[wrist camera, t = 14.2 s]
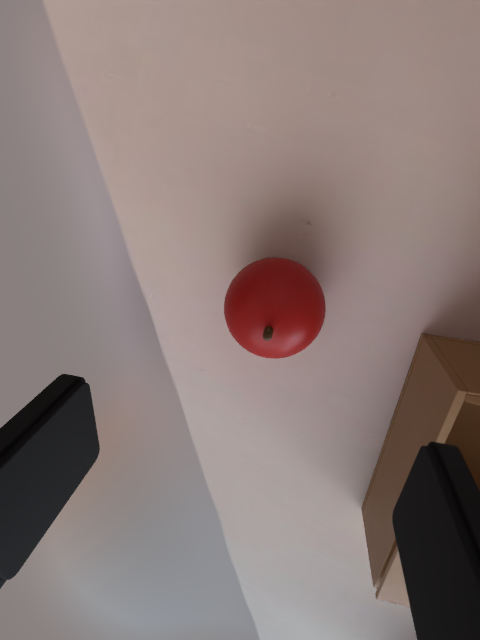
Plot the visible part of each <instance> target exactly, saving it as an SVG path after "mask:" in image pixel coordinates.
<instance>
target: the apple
mask: <svg viewBox="0 0 480 640" xmlns="http://www.w3.org/2000/svg"><path fill="white" fill-rule="evenodd" d="M224 314H225V319H226V323H227V326H228V328H229V331H230V332H231V334H232V336H233V337H234V338H235V340H236V341H237V342H238V343H239V344H240V345H241V346H242V347H243V348H245V349H246V350H247V351H249V352H251V353H253V354H255V355H258V356H261V357H265V358H284V357H289V356H291V355H294V354H296V353H298V352H300V351H302V350H303V349H305V348H306V347H307V346H309V345H310V344H311V343H312V342H313V340H314V339H315V338H316V337H317V335H318V333H319V332H320V330H321V327H322V325H323V322H324V318H325V298H324V294H323V291H322V288H321V286H320V284H319V282H318V281H317V279H316V278H315V276H314V275H313V274H312V273H311V272H310V271H309V270H308V269H306V268H305V267H304V266H302V265H301V264H299V263H297V262H295V261H292V260H289V259H285V258H276V257H274V258H265V259H261V260H258V261H255V262H253V263H251V264H249V265H248V266H246V267H245V268H243V269H242V270H241V271H240V272H239V273H238V274H237V275H236V276H235V278H234V279H233V280H232V282H231V284H230V286H229V288H228V290H227V293H226V297H225V303H224Z"/></svg>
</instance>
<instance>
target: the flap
mask: <svg viewBox="0 0 480 640" xmlns="http://www.w3.org/2000/svg"><path fill="white" fill-rule="evenodd" d="M465 401H466V402H469V403H473V404H476V405H480V396H479V395H472V394H465Z"/></svg>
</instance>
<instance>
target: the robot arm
mask: <svg viewBox="0 0 480 640" xmlns="http://www.w3.org/2000/svg"><path fill="white" fill-rule="evenodd" d="M99 450H100V449H99V441H98V435H97V429H96V422H95V416H94V410H93V404H92V398H91V392H90V387H89V384H88V383H86V382H85V379H84V378H82V377H78V376H73V375H67V374H62V375H60V376H59V377H57V378H56V380H54V381H53V382H52V383H51V384H50V385H48V386H47V387H46V388H45V389H44V390H43V391H42V392H41V393H40V394H38V395H37V396H36V397H35V398H34V399H33V400H32V401H31V402H29V403H28V404H27V405H26V406H25V407H24V408H23V409H22V410H20V411H19V412H18V413H17V414H16V415H15V416H14V417H13V418H11V419H10V420H9V421H8V422H7V423H6V424H5V425H4V426H3V427H1V428H0V588H1V587H2V586H3V584H4V583H5V582H6V580H8V579H11V578H13V577H14V576H15V575H16V574H17V573H18V571H19V570H20V569H21V567H22V566H23V564H24V563H25V561H26V560H27V558H28V557H29V556H30V554H31V553H32V551H33V550H34V548H35V547H36V545H37V544H38V543H39V541H40V540H41V538H42V537H43V536H44V534H45V533H46V531H47V530H48V528H49V527H50V526H51V524H52V522H53V521H54V520H55V518H56V517H57V515H58V514H59V512H60V511H61V510H62V508H63V507H64V505H65V504H66V503H67V501H68V500H69V498H70V497H71V495H72V494H73V493H74V491H75V490H76V488H77V487H78V485H79V484H80V483H81V481H82V480H83V478H84V477H85V475H86V474H87V473H88V471H89V470H90V468H91V467H92V465H93V464H94V462H95V461H96V459H97V457H98V454H99ZM392 523H393V529H394V533H395V538H396V543H397V547H398V552H399V556H400V561H401V566H402V570H403V575H404V580H405V584H406V589H407V594H408V598H409V603H410V608H411V612H412V617H413V622H414V626H415V631H416V636H417V640H480V490H479V488H478V486H477V484H476V482H475V480H474V478H473V476H472V474H471V472H470V470H469V468H468V466H467V464H466V462H465V460H464V458H463V456H462V454H461V452H460V450H459V449H458V447H456V446H455V445H449V444H444V443H438V442H432V441H431V442H429V443H428V445H427V446H421V447H420V449H419V452H418V454H417V456H416V459H415V461H414V463H413V465H412V468H411V470H410V472H409V475H408V477H407V479H406V482H405V484H404V486H403V489H402V491H401V493H400V496H399V498H398V500H397V503H396V505H395V507H394V510H393V515H392Z"/></svg>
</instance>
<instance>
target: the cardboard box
mask: <svg viewBox="0 0 480 640" xmlns="http://www.w3.org/2000/svg"><path fill="white" fill-rule="evenodd" d="M465 394H472V395H479V396H480V342H476V341H469V340H462V339H455V338H448V337H441V336H434V335H427V334H421V337H420V340H419V342H418V345H417V348H416V351H415V354H414V357H413V360H412V363H411V366H410V369H409V372H408V374H407V377H406V380H405V383H404V386H403V389H402V392H401V395H400V398H399V401H398V404H397V407H396V409H395V412H394V415H393V418H392V421H391V424H390V427H389V430H388V433H387V436H386V439H385V442H384V444H383V447H382V450H381V453H380V456H379V459H378V462H377V465H376V468H375V471H374V474H373V477H372V479H371V482H370V485H369V488H368V491H367V494H366V497H365V500H364V503H363V506H362V514H363V521H364V527H365V534H366V541H367V547H368V554H369V560H370V567H371V574H372V580H373V586H374V587H376V588H378V589H377V591H376V593H375V594H376V599H378V600H383V601H387V602H391V603H395V604H399V605H403V606H407V607H410V603H409V598H408V594H407V589H406V584H405V580H404V575H403V570H402V566H401V561H400V556H399V552H398V547H397V543H396V538H395V533H394V529H393V523H392V515H393V510H394V507H395V505H396V503H397V500H398V498H399V496H400V493H401V491H402V489H403V486H404V484H405V482H406V479H407V477H408V475H409V472H410V470H411V468H412V465H413V463H414V461H415V459H416V456H417V454H418V452H419V449H420V447H421V446H427V445H428V443H429V442H431V441H432V442H438V443H444V444H449V445H455V446H456V447H458V449H459V450H460V452H461V454H462V456H463V458H464V460H465V462H466V464H467V466H468V468H469V470H470V472H471V474H472V476H473V478H474V480H475V482H476V484H477V486H478V488H479V490H480V405H476V404H473V403H469V402H466V401H465Z"/></svg>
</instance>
